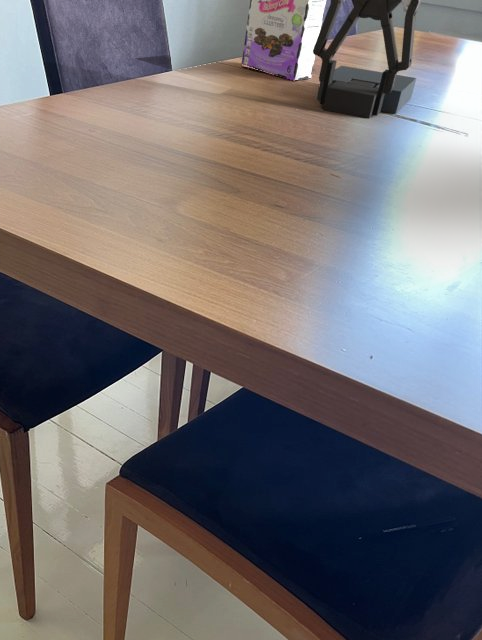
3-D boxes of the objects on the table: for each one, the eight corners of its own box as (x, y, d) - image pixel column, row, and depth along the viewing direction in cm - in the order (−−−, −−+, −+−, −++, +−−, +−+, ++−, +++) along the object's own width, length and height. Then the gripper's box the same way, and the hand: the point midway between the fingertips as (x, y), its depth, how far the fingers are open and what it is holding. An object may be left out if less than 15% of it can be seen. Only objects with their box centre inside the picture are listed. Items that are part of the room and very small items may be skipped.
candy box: (239, 67, 146) (252, -31, 136) (258, 64, 150) (272, -31, 140) (293, 82, 139) (312, -21, 129) (312, 79, 142) (331, -21, 132)
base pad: (410, 98, 135) (416, 77, 132) (395, 114, 124) (401, 91, 122) (336, 85, 139) (341, 65, 137) (316, 99, 129) (320, 77, 127)
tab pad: (381, 107, 128) (387, 85, 125) (369, 118, 121) (374, 95, 119) (337, 99, 130) (341, 77, 128) (322, 109, 123) (327, 87, 121)
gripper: (312, -60, 110) (283, 101, 125) (455, -43, 104) (408, 125, 118) (325, -62, 116) (296, 93, 130) (462, -45, 109) (416, 116, 123)
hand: (349, 108), depth 124 cm, fingers open, 8 cm apart
